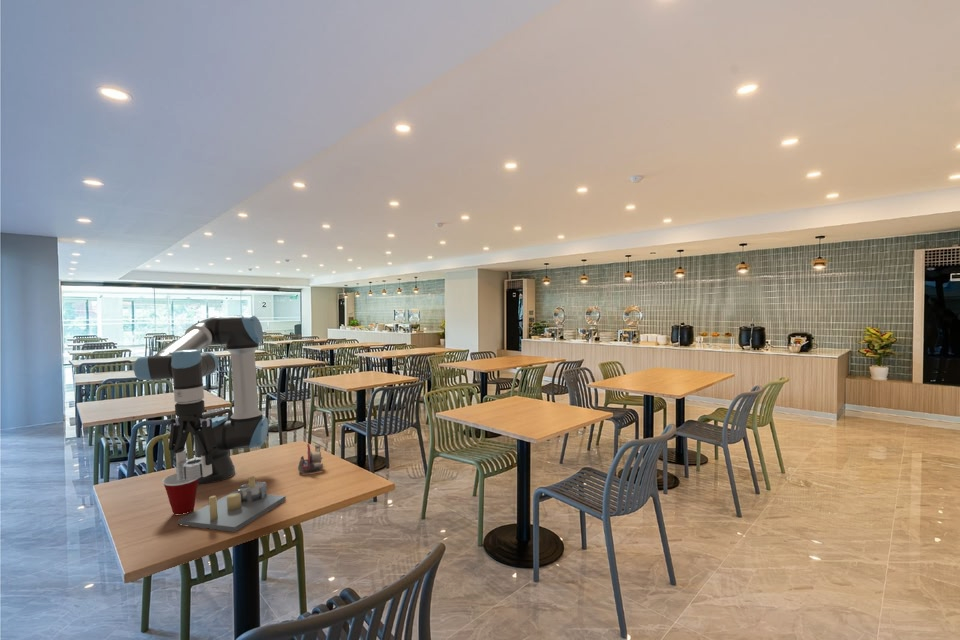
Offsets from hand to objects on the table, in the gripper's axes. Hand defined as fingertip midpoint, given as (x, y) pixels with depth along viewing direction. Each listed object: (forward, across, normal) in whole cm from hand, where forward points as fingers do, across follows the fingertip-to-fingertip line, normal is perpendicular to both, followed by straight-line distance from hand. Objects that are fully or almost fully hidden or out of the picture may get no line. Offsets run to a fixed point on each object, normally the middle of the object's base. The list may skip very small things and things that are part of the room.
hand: (194, 473), depth 137 cm
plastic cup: (+17, -16, +8) cm, 25 cm away
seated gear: (+16, +2, +20) cm, 25 cm away
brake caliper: (+18, +2, +50) cm, 53 cm away
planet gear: (0, 0, 0) cm, 0 cm away
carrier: (+17, +2, +12) cm, 21 cm away
